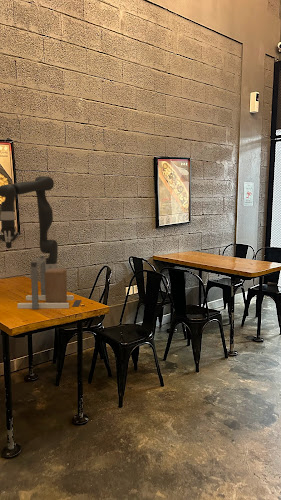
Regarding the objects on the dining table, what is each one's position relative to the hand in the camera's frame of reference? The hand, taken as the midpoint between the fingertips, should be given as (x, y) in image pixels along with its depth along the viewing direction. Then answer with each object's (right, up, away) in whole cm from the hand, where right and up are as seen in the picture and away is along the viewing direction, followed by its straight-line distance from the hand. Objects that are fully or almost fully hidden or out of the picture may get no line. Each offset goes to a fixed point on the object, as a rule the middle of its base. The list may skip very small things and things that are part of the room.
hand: (8, 248), depth 230 cm
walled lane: (+24, -32, -6) cm, 41 cm away
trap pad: (+42, -32, -6) cm, 53 cm away
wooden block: (+30, -32, -7) cm, 44 cm away
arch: (+20, -32, -7) cm, 38 cm away
